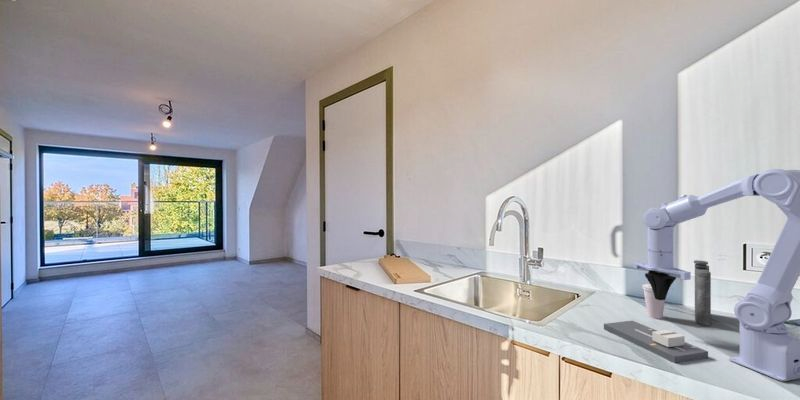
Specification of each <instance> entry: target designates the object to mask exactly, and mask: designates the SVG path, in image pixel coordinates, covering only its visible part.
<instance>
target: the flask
mask: <svg viewBox="0 0 800 400" xmlns="http://www.w3.org/2000/svg"><path fill="white" fill-rule="evenodd" d="M693 264H694V320H695V322H696V324H697V325H698V326H702V327H707V328H710V327H711V326H712V323H711V321H712V319H711V318H712V317H711V315H712V314H711V313H712V312H711V311H712V307H711V306H712V301H711V299H712V297H711V296H712V295H711V294H712V292H711V290H712V288H711V287H712V286H711V284H712V281H711V280H712V279H711V278H712V277H711V275H712V273H711V271H710V265H708V264H709V261H706V260H697V259H696V260H693Z"/></svg>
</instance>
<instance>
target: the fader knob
mask: <svg viewBox="0 0 800 400" xmlns="http://www.w3.org/2000/svg"><path fill="white" fill-rule="evenodd" d="M652 340H653V341H655V342H658V343H660V344H662V345H665V346H667V347H673V346H680V345H684V342H685V335H683V334H679V333H677V332H675V331H673V330H670V329H664V330H662V329H661V330H657V331H654V332H652Z"/></svg>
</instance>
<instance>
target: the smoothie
mask: <svg viewBox="0 0 800 400" xmlns="http://www.w3.org/2000/svg"><path fill="white" fill-rule="evenodd" d="M641 288H642V289H643V293H644V302H645V308H646V313H647V317H648V318H651V317H652V319H656V320H661V319H663V316H664V315H663V314H664V311H665V310H664V308H665V302H666V299H665V300H657V299H655V296H654V293H653V290H652V287H651V285H650V283H643V284H642V287H641Z"/></svg>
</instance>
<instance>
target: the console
mask: <svg viewBox="0 0 800 400" xmlns="http://www.w3.org/2000/svg"><path fill="white" fill-rule="evenodd" d="M603 329H604V330H605V331H607V332H609V333H612V334H613V335H616V337H617V336H618V337H619V338H622V339H624V340H625V341H628V342H630V343H632V344H634V345H636V346H639V347H640V348H643V349H644V350H647V351H649V352H651V353H653V354H655V355H657V356H660V357H661V358H664V359H666V360H667V361H670V362H671V363H674V364H679V363H681V362H684V363H685V362H690V361H697V360H703V359H708V358H709V351H708V350H705V349H703V348H701V347H699V346H695V345H692V344H690V343H689V342H686V341H684V345H680V346H673V347H667V346H665V345H662V344H660V343H658V342H655V341H653V340H652V332H654V331H658V330H656V329H655V328H651V327H649V326H646V325H644V324H642V323H639V322H637V321H635V320H626V321H616V322H608V323H603Z"/></svg>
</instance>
